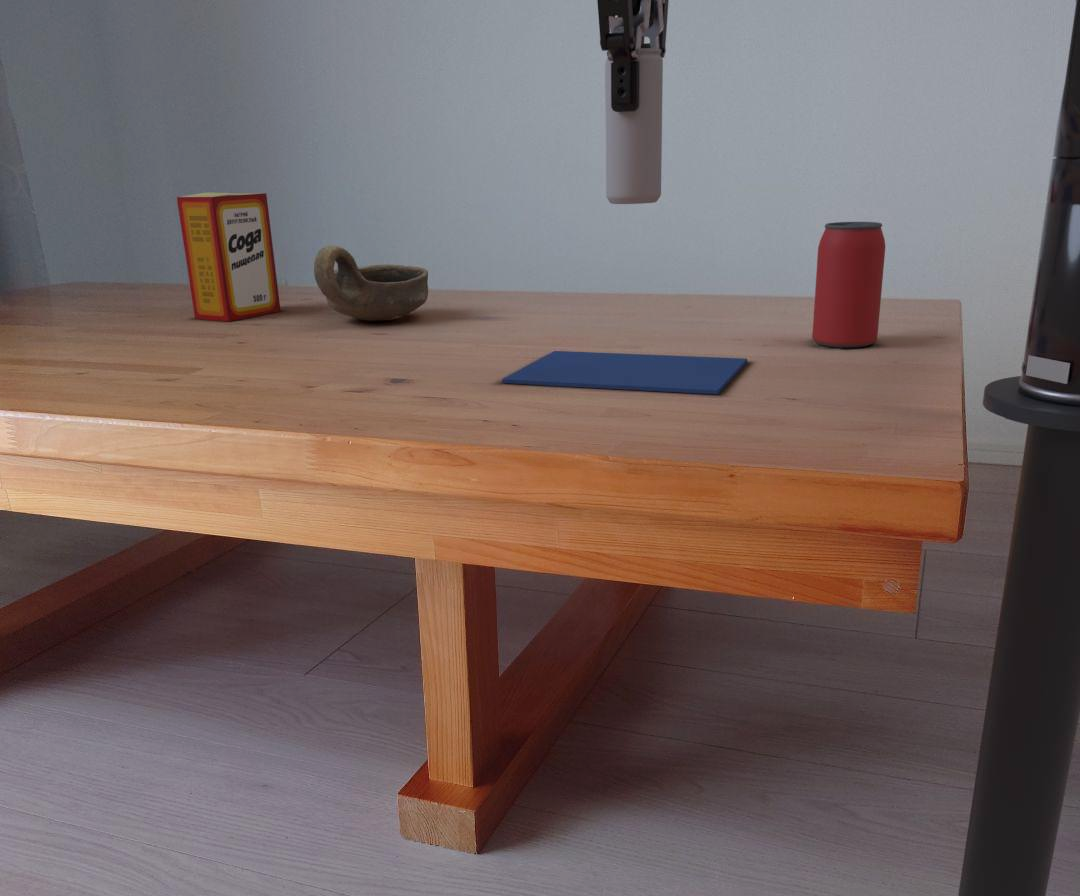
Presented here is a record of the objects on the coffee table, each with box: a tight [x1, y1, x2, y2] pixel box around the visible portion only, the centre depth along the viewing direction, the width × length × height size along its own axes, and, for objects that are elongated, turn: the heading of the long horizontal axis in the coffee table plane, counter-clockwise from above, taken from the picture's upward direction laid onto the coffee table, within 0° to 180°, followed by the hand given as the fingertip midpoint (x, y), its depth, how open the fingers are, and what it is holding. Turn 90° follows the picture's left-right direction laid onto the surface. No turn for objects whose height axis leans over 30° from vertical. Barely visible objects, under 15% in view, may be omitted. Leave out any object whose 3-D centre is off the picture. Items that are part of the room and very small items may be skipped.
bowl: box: [313, 245, 429, 322], centre depth 128 cm, size 14×18×10 cm
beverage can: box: [604, 48, 664, 205], centre depth 86 cm, size 5×5×12 cm
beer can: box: [811, 221, 886, 349], centre depth 103 cm, size 7×7×12 cm
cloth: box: [501, 350, 748, 395], centre depth 95 cm, size 20×14×1 cm
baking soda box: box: [176, 192, 281, 322], centre depth 136 cm, size 10×6×16 cm
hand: (634, 111), depth 85 cm, fingers closed on beverage can, 5 cm apart
